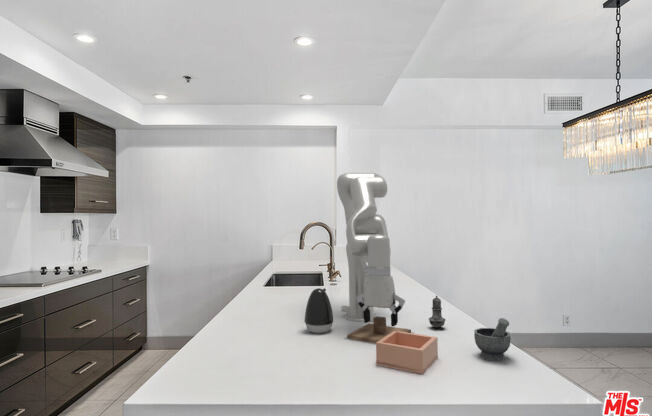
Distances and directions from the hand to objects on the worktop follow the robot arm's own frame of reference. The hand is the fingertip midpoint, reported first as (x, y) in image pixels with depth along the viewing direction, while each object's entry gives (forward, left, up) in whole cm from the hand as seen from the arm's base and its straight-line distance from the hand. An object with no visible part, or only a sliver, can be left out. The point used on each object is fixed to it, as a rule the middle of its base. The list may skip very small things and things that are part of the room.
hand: (380, 323), depth 132 cm
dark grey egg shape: (-22, -4, -5) cm, 22 cm away
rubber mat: (-1, +1, -5) cm, 5 cm away
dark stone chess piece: (+13, +19, -5) cm, 23 cm away
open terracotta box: (+15, -16, -5) cm, 23 cm away
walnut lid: (-1, +1, -4) cm, 4 cm away
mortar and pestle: (+35, -1, -5) cm, 36 cm away
